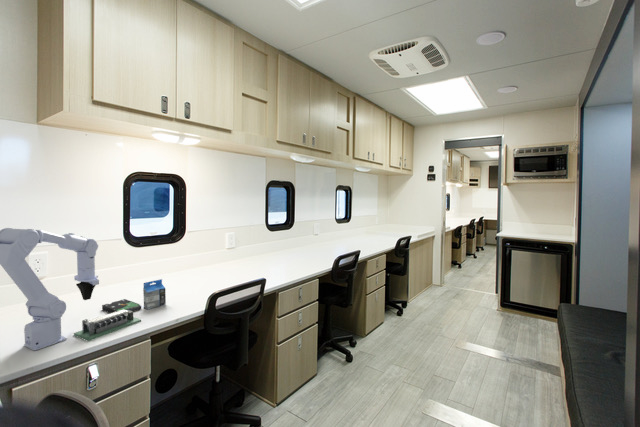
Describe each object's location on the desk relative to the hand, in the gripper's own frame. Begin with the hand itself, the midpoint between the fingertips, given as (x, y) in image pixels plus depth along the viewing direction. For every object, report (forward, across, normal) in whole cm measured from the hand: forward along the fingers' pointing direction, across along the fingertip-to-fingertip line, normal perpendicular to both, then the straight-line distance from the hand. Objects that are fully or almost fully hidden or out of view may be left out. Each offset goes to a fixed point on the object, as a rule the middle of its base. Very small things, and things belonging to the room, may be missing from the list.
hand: (86, 299), depth 124 cm
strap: (+7, -12, -1) cm, 14 cm away
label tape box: (+11, -6, -26) cm, 29 cm away
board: (+10, -12, -2) cm, 16 cm away
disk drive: (+11, +3, -16) cm, 20 cm away
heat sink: (+10, -12, 0) cm, 15 cm away
